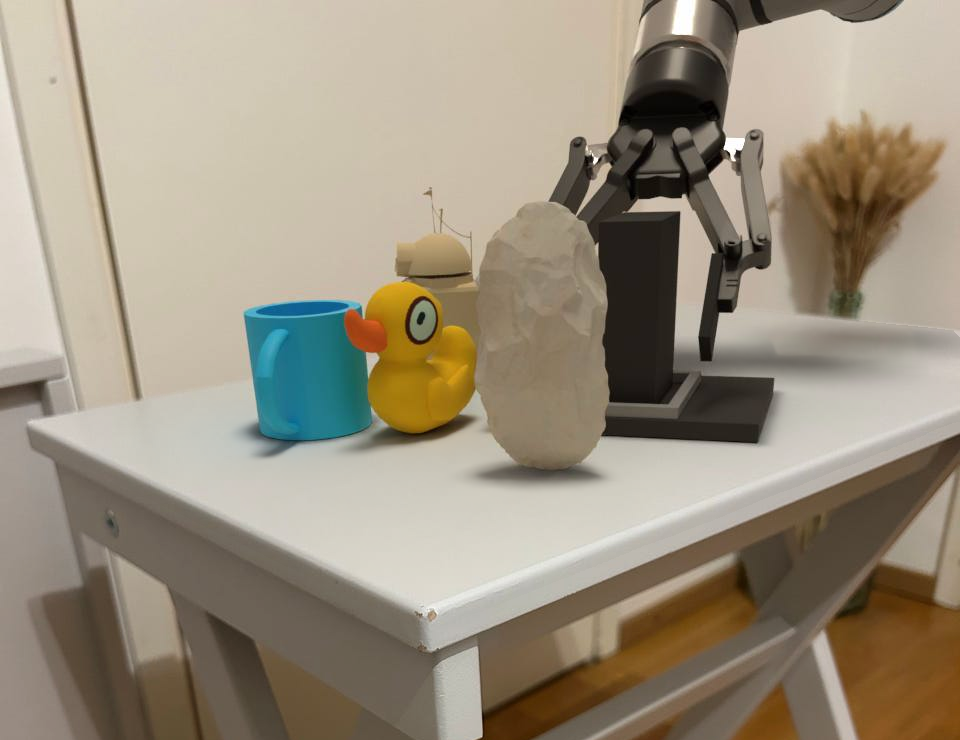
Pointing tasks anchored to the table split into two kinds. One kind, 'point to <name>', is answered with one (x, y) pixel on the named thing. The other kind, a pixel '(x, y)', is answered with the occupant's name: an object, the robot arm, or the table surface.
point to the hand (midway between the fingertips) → (629, 347)
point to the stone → (543, 338)
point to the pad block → (639, 303)
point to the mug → (307, 370)
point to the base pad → (697, 410)
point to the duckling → (413, 358)
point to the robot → (443, 276)
